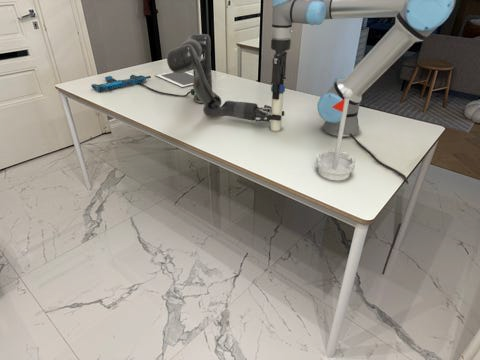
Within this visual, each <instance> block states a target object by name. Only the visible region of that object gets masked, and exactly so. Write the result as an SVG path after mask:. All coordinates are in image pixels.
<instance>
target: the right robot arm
mask: <svg viewBox="0 0 480 360" xmlns="http://www.w3.org/2000/svg"><path fill="white" fill-rule="evenodd" d="M272 1H273V2H272V19H271V21H272V23H271V35H270V37H271V40H270V49H271V50H272V51H275V52H274V55H273V58H272V69H271V70H272V71H271V81H270V84H271V85H273V94H272V93H271V100H272V99H276V100H279V91H280V84H281V85H284V82H285V80H286V79H287V77H286V72H287V71H286V69H287V56H288V52H287V51H289V50H290V49H291V43H292V40H291V38H292V33H293V32H294V31H293V29H292V28H293V27H292V26H293V24H303V25H310V26H314V25H315V26H316V25H317V26H320V25H322V24H323V22H324V21H325V20H337V19H338V20H339V19H340V20H341V19H342V20H343V19H344V20H345V19H369V18H371V19H372V18H395V23H394V25H392V27H391V28H390V29H389V30H388V31H387V32H386V33H385V34H384V35H383V36H382V38H380V40H379V41H378V42H377V43H376V44H375V45H374V46H373V47H372V48H371V49H370V50H369V52H368V53H367V54H366V55H365V56H364V57H363V58H362V59H361V60H360V62H358V63H357V65H355V67H354V68H353V69H352V70H351V71H350V73H348V74H347V76H338V77H335V78H334V81H333V85H332V86H331V87H330V88H329V89H328V90H327V92H326V93H324V94H322V95H321V96H320V98H319V99H318V102H317V105H316V110H317V113H318V115H319V116H320V118H321V119H322V120H324V123H323V126H322V130H323V132H324V133H325V134H326V135H329V136H332V137H335V138H338V133H339V127H340V121H341V115H342V112H341V111H339V110H337V109H334V108H332V107H333V106H334V105H336V104H337V103H339V102H340V101H342V100H343V99H344V97H343V92H344V90H346V89H350V90H352V92H353V95H352V97H351V98H349V104H348V109H347V115H346V120H345V126H344V131H343V137H342V139H349V138H352V139H353V140H354V142H355V143H356V144H357V145H358V146H359V147H361V148H362V149H363V150H364V151H366V153H367V154H369V155H370V156H371V157H372V159H374V161H375V162H377V163H378V164H379V165H381V166H383V167H385V168H386V169H389V170H391V171H393V172H394V173H396V174H397V175H398V176H401V177H402V178H403V179H404V182H405V184H407V185H409V180H408V178H407V176H406V175H405V174H403V173H401V172H400V171H399V170H397V169H396V168H393V167H391V166H389V165H387V164H385V163H383V162H382V161H381V160H379V159H378V158H377V157H376V156H375V155H374V154H373V153H372V152H371V151H370V150H369V149H368V148H366V147H365V146H364V145H363V144H362V143H360V141H358V140H357V138H356V136H357V135H359V132H360V125H359V118H358V117H359V116H358V114H359V111H360V110H359V109H360V105H361V102H362V98H363V94H364V93H365V92H366V91H368V89H369V88H370V87H371V86H372V85H373V84H374V83H376V82H377V80H379V78H381V76H382V75H384V73H385V72H387V70H389V69H390V67H391V66H392V65H394V64H395V63H396V62H397V60H399V59H400V58H401V57H402V56H403V55H404V54H405V52H407V51H408V50H409V49H410V48H411V47H412V46H413V45H414V44H415V43H419V42H423V41H425V40H426V39H427V38H428V37H429V36H430V35H431V34H432V33H433V32H434V31H435V30H436V29H437V28H438V27H440V26H442V24H444V23H445V22H446V21H447V19H448V18H449V17H450V15H451V14H452V12H453V10H454V9H455V7H456V2H457V0H272ZM401 226H402V222H400V223H398V224H397V228H396V231H395V233H394V237H393V240H392V243H391V246H390V248H389V251H388V255H387V257H386V260H385V263H384V266H383V269H382V272H381V275H383V276H384V275H385V273H386V270H387V266H388V263H389V260H390V257H391V254H392V252H393V249H394V246H395V243H396V240H397V237H398V235H399V232H400V229H401Z"/></svg>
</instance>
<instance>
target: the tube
mask: <svg viewBox="0 0 480 360" xmlns="http://www.w3.org/2000/svg"><path fill="white" fill-rule="evenodd" d="M272 94H273V92H272V91H271V95H272ZM283 105H284V92H283V93H279V100H276V99H272V98H271V114H272V115H273V114H274V115H281V120H280V121H278V120H270V131H273V132H279V131H281V129H282V120H283V119H282V118H283V116H282V111H283Z"/></svg>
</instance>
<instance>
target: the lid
mask: <svg viewBox="0 0 480 360" xmlns="http://www.w3.org/2000/svg"><path fill="white" fill-rule="evenodd" d="M270 92H271V93H272V92H273V84H271V87H270ZM285 92H286V86H285V85H284V84H283V85H281V84H280V91H279V93H283V94H284V93H285Z"/></svg>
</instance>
